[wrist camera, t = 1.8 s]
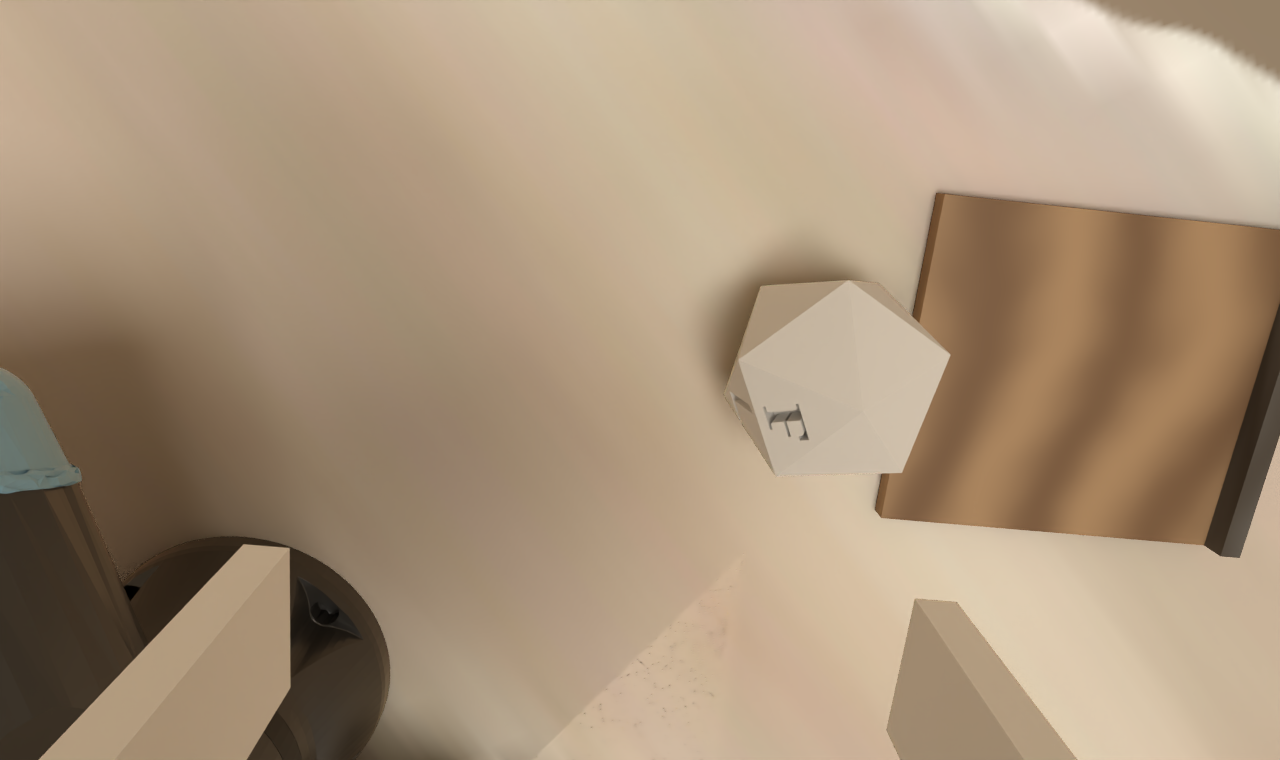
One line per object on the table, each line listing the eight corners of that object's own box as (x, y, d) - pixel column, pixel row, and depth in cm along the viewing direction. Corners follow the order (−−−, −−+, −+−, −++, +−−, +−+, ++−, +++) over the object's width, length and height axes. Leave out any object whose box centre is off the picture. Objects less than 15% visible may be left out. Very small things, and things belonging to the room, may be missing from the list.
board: (874, 509, 42) (888, 528, 40) (936, 193, 38) (955, 195, 36) (1208, 537, 43) (1239, 557, 41) (1304, 232, 39) (1344, 236, 37)
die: (689, 297, 39) (713, 344, 29) (869, 235, 38) (954, 262, 29) (741, 455, 41) (779, 547, 32) (912, 398, 41) (1004, 474, 31)
